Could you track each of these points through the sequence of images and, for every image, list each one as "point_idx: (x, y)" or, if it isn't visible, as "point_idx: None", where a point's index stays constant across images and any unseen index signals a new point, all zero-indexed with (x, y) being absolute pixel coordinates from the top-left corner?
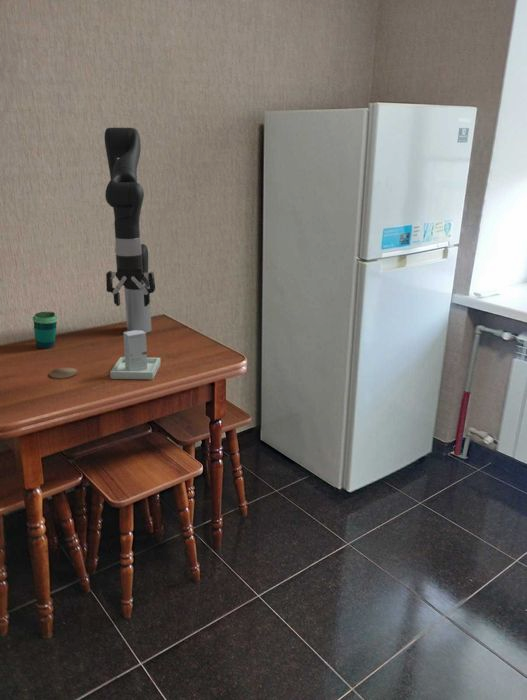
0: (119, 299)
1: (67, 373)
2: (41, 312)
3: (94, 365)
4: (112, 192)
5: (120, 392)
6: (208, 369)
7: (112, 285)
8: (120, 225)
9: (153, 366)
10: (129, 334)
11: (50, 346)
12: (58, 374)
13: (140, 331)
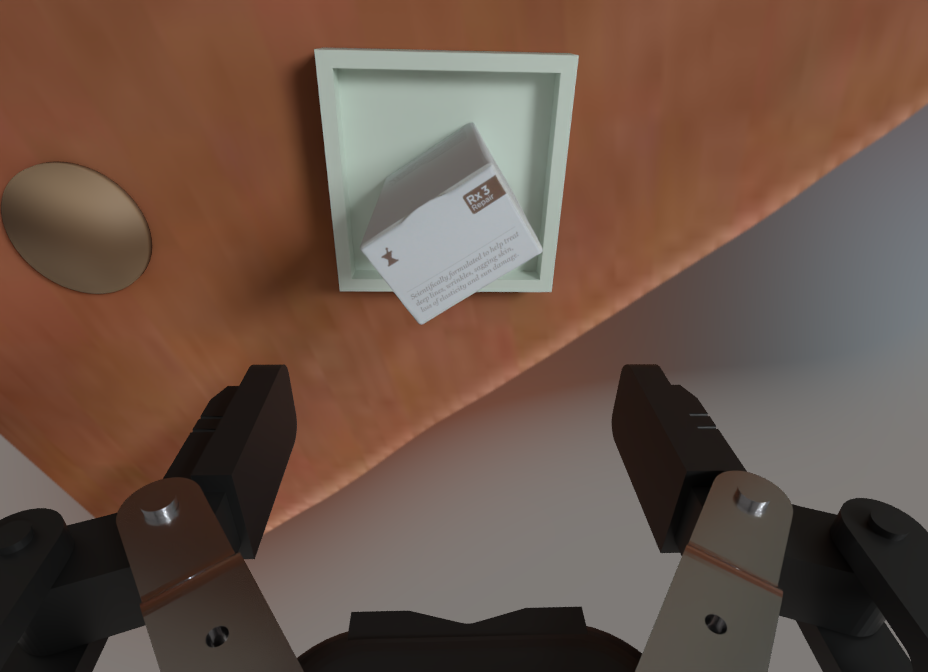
0: (269, 428)
1: (108, 248)
2: None
3: (174, 91)
4: None
5: (432, 401)
6: (834, 136)
7: (24, 604)
8: None
9: (548, 210)
10: (426, 305)
11: None
12: (72, 263)
13: (497, 228)
